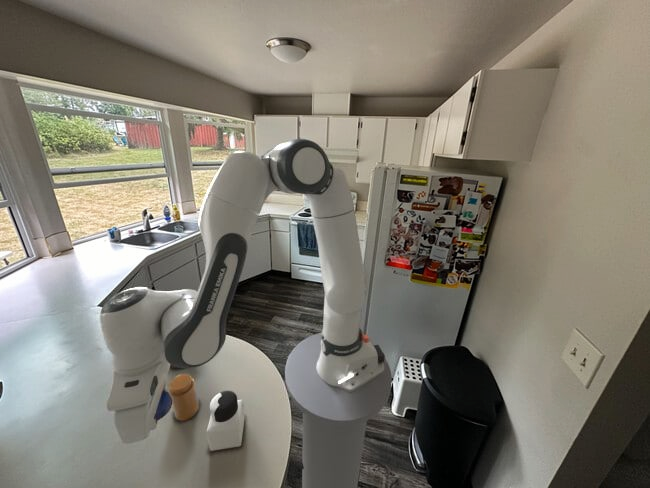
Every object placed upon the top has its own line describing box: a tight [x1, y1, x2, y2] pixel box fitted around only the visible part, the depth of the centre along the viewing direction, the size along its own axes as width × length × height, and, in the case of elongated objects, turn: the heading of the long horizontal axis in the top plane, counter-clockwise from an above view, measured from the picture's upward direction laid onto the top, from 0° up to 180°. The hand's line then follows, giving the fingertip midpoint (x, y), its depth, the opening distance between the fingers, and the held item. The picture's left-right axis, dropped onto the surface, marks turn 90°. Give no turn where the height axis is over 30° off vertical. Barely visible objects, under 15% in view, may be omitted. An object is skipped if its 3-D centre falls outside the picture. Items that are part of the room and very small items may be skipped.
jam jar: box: [168, 373, 200, 421], centre depth 66 cm, size 6×6×11 cm
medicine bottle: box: [206, 390, 245, 452], centre depth 61 cm, size 7×7×12 cm
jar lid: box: [154, 390, 173, 421], centre depth 55 cm, size 6×6×2 cm
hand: (157, 410), depth 56 cm, fingers closed on jar lid, 6 cm apart
